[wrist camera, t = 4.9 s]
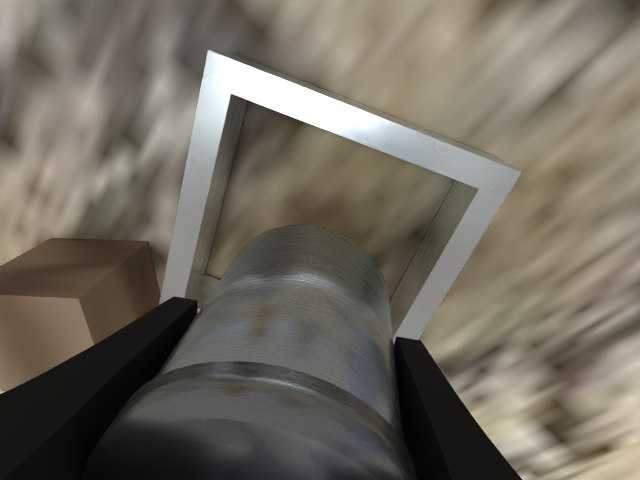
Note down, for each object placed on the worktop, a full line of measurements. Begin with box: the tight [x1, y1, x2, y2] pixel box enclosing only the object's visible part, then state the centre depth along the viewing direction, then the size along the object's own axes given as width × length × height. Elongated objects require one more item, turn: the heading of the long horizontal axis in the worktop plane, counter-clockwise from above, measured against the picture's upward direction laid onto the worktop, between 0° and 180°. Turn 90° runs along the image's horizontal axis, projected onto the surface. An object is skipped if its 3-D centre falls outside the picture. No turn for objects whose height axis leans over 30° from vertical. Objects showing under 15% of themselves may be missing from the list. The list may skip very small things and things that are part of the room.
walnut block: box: [0, 238, 161, 391], centre depth 17 cm, size 5×5×5 cm
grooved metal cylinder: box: [82, 225, 417, 480], centre depth 8 cm, size 5×5×6 cm
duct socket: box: [159, 50, 522, 344], centre depth 15 cm, size 11×12×2 cm
